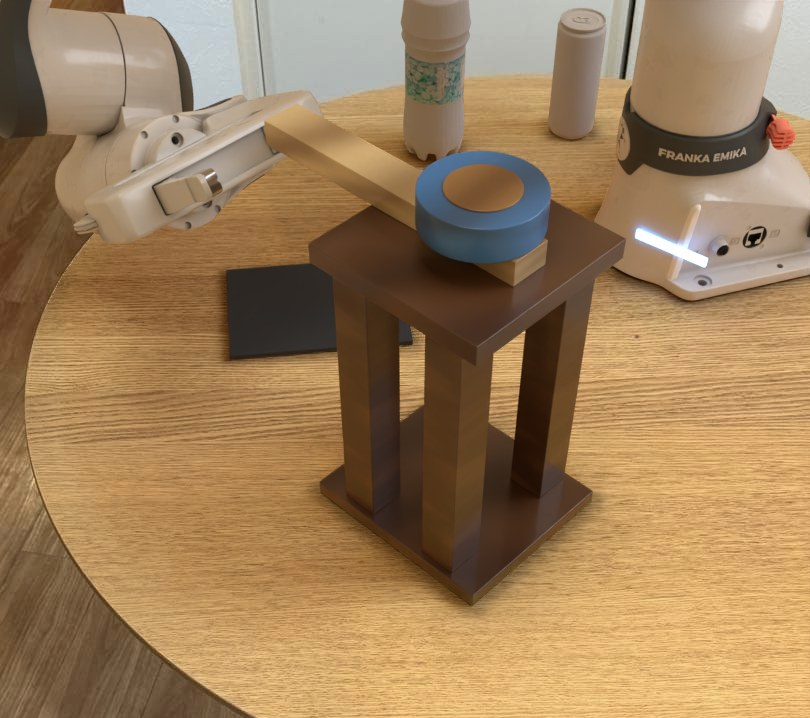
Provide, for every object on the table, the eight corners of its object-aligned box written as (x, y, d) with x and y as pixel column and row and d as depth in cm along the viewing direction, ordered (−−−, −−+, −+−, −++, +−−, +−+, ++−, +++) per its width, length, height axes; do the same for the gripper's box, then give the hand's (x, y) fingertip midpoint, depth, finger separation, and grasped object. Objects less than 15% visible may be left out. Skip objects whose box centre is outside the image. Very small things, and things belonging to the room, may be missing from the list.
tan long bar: (238, 159, 77) (230, 100, 74) (325, 112, 81) (321, 53, 78) (485, 307, 68) (489, 246, 64) (571, 246, 71) (579, 185, 68)
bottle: (474, 161, 119) (484, -36, 104) (411, 172, 118) (412, -26, 102) (453, 127, 123) (460, -68, 108) (393, 137, 122) (391, -58, 107)
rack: (319, 491, 90) (296, 236, 72) (440, 401, 97) (448, 145, 78) (471, 606, 83) (490, 355, 65) (591, 501, 90) (640, 245, 71)
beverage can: (590, 143, 121) (605, 33, 112) (544, 139, 122) (555, 28, 113) (594, 119, 124) (609, 9, 115) (550, 114, 125) (561, 4, 116)
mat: (396, 260, 109) (396, 256, 108) (413, 344, 101) (413, 340, 101) (226, 274, 108) (225, 269, 107) (230, 360, 100) (229, 356, 100)
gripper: (44, 192, 87) (124, 174, 76) (249, 88, 96) (345, 58, 85) (85, 269, 90) (167, 262, 79) (281, 160, 99) (378, 141, 88)
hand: (262, 155), depth 82 cm, fingers open, 8 cm apart
